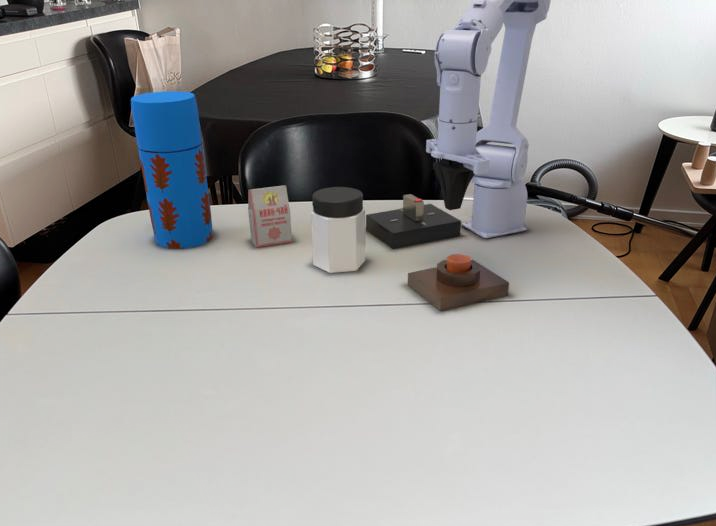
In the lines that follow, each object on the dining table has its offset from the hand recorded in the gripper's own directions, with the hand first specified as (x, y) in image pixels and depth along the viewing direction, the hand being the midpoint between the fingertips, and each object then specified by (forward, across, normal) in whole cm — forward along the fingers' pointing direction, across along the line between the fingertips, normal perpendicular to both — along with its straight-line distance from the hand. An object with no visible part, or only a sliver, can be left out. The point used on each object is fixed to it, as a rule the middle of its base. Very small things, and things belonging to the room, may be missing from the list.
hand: (452, 208), depth 108 cm
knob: (+7, -17, +3) cm, 19 cm away
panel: (+10, -17, +3) cm, 20 cm away
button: (+7, +8, -3) cm, 11 cm away
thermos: (+10, -34, -36) cm, 51 cm away
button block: (+10, +8, -4) cm, 13 cm away
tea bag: (+10, -25, -22) cm, 35 cm away
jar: (+10, -10, -15) cm, 21 cm away
